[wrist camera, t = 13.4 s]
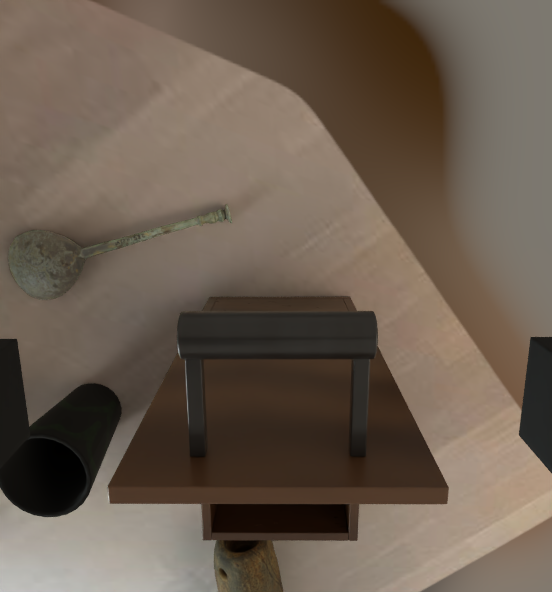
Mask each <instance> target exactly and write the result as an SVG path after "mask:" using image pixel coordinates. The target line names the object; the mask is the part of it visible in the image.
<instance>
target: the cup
mask: <svg viewBox="0 0 552 592" xmlns="http://www.w3.org/2000/svg"><path fill="white" fill-rule="evenodd" d="M120 417H121V404H120V401H119V399H118V397H117V396H116V395H115V393H114V392H113V391H112V390H110V389H109V388H107V387H105V386H103V385H100V384H95V383H94V384H85V385H81V386H80V387H78V388H76V389H75V390H74V391H72V392H71V393H70V394H69V395H68V396H66V397H65V398H64V399H63V400H61V401H60V402H59V403H58V404H56V405H55V406H54V407H53V408H52V409H50V410H49V411H48V412H47V413H45V414H44V415H43V416H42V417H41V418H39V419H38V420H37V421H36V422H34V423H33V424H32V425H31V426H30V427H29V429H30V436H29V438H28V439H27V440H26V441H25V442H24V443H23V444H22V445H21V446H20V448H19V449H18V450H17V451H16V452H15V453H14V454H13V455H12V456H11V457H10V459H9V460H8V461H7V462H6V463H5V464H4V465H3V466H2V467H1V468H0V488H1V489H2V491H3V493H4V494H5V496H6V497H7V498H8V499H9V500H10V501H11V502H12V503H13V504H14V505H15V506H17V507H18V508H20V509H21V510H23V511H25V512H28V513H30V514H33V515H37V516H42V517H57V516H62V515H66V514H68V513H70V512H72V511H74V510H76V509H77V508H78V507H79V506H80V505H82V504H83V503H84V501H85V500H86V498H87V497H88V495H89V493H90V490H91V488H92V485H93V483H94V481H95V478H96V476H97V473H98V471H99V468H100V466H101V464H102V461H103V459H104V456H105V454H106V451H107V449H108V447H109V444H110V442H111V439H112V437H113V434H114V432H115V430H116V427H117V425H118V422H119V420H120Z"/></svg>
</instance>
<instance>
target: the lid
mask: <svg viewBox="0 0 552 592" xmlns="http://www.w3.org/2000/svg"><path fill="white" fill-rule="evenodd" d="M377 345H378V329H377V320H376V316H375V313H374V312H373V311H183V312H181V313H180V316H179V319H178V326H177V347H178V353H177V355H176V357H175V359H174V361H173V363H172V365H171V366H170V368H169V370H168V372H167V374H166V376H165V378H164V380H163V382H162V384H161V386H160V387H159V389H158V391H157V393H156V395H155V397H154V399H153V401H152V403H151V405H150V407H149V409H148V410H147V412H146V414H145V416H144V418H143V420H142V422H141V424H140V426H139V428H138V430H137V431H136V433H135V435H134V437H133V439H132V441H131V443H130V445H129V447H128V449H127V451H126V452H125V454H124V456H123V458H122V460H121V462H120V464H119V466H118V468H117V470H116V472H115V473H114V475H113V477H112V479H111V481H110V483H109V485H108V487H107V489H108V499H109V503H110V504H447V501H448V490H449V487H448V485H447V483H446V481H445V479H444V477H443V475H442V473H441V471H440V469H439V467H438V465H437V463H436V461H435V459H434V457H433V456H432V454H431V452H430V450H429V448H428V446H427V444H426V442H425V440H424V438H423V436H422V434H421V432H420V430H419V428H418V426H417V424H416V422H415V420H414V418H413V416H412V414H411V412H410V410H409V408H408V406H407V404H406V402H405V400H404V398H403V396H402V394H401V392H400V390H399V388H398V386H397V384H396V382H395V380H394V378H393V376H392V374H391V372H390V370H389V368H388V366H387V364H386V362H385V360H384V358H383V356H382V354H381V352H380V350H379V348H378V346H377Z"/></svg>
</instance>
